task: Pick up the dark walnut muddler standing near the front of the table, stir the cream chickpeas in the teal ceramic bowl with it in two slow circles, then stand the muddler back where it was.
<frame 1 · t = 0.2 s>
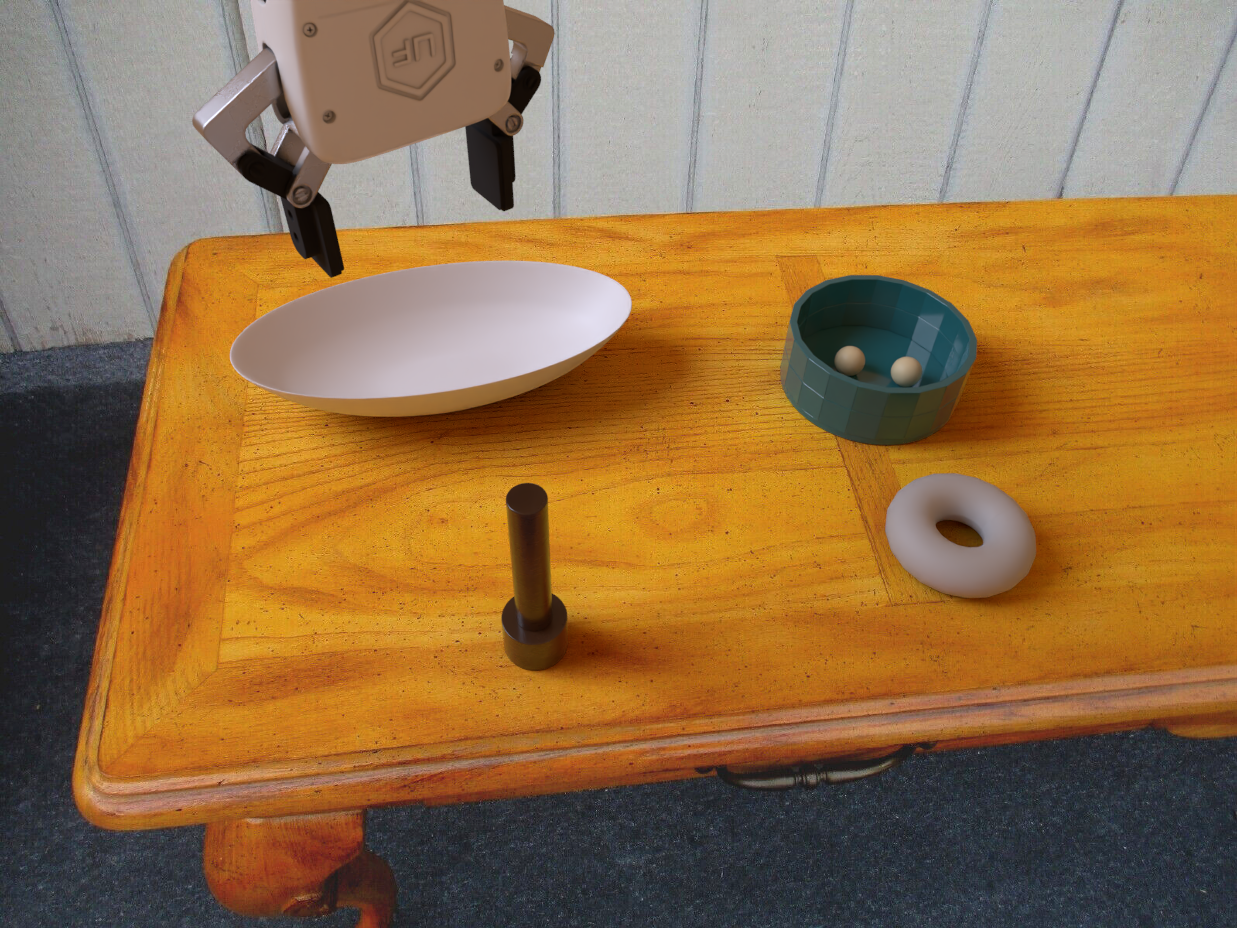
hand: (411, 229, 48), 24 cm above the table, tool pointing down, fingers open, 9 cm apart
muddler: (536, 642, 60), on the table
chickpea b: (849, 360, 77), point 2 cm above the table, touching mixing bowl
donut: (951, 550, 66), on the table
bowl: (447, 385, 76), on the table
chickpea a: (906, 371, 76), point 2 cm above the table, touching mixing bowl
mixing bowl: (867, 382, 78), on the table
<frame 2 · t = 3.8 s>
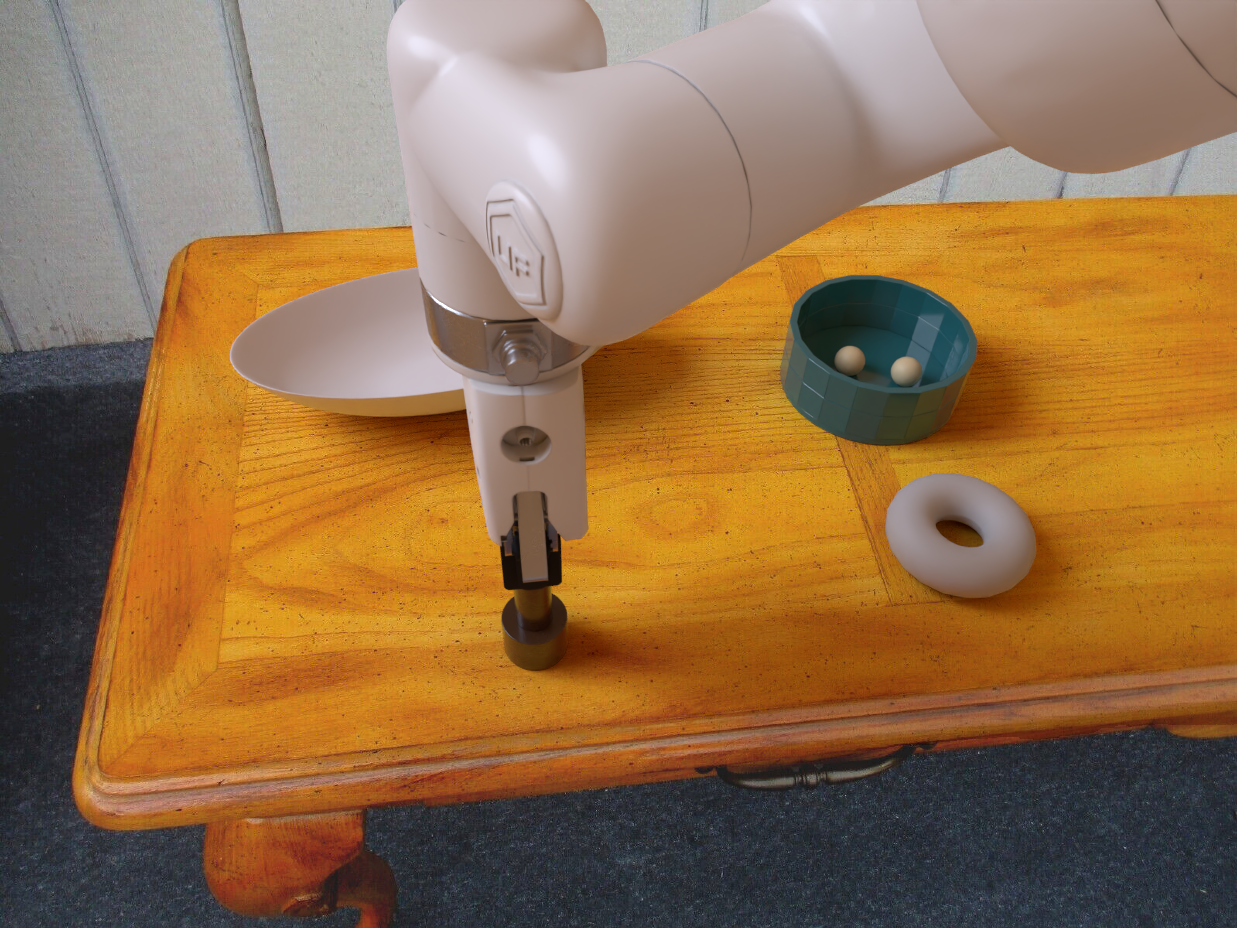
hand: (530, 560, 54), 9 cm above the table, tool pointing down, fingers closed on muddler, 2 cm apart
muddler: (536, 642, 60), on the table, touching gripper
everything else where it was.
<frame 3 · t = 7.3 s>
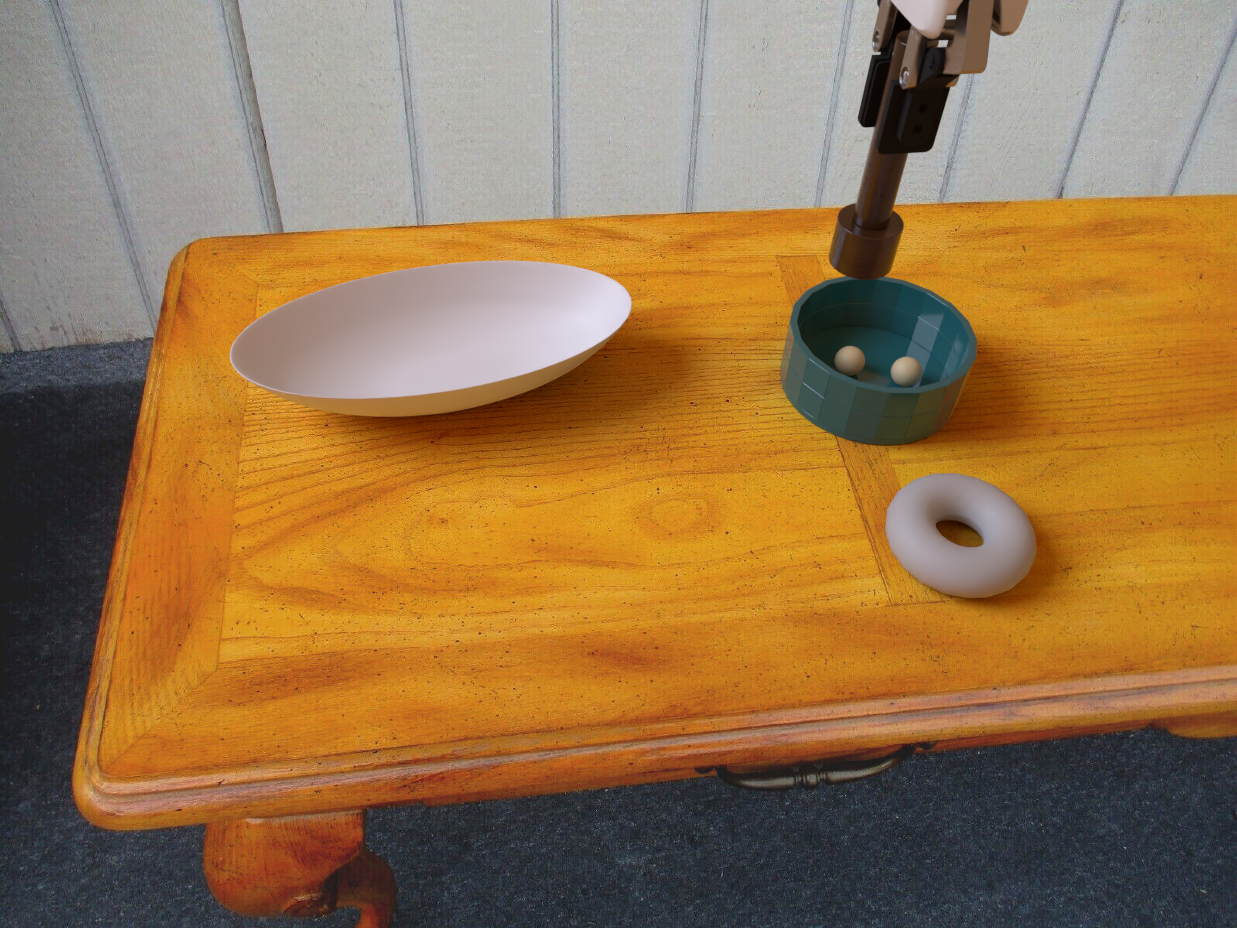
hand: (893, 134, 54), 25 cm above the table, tool pointing down, fingers closed on muddler
muddler: (860, 261, 60), point 17 cm above the table, touching gripper
everything else where it was.
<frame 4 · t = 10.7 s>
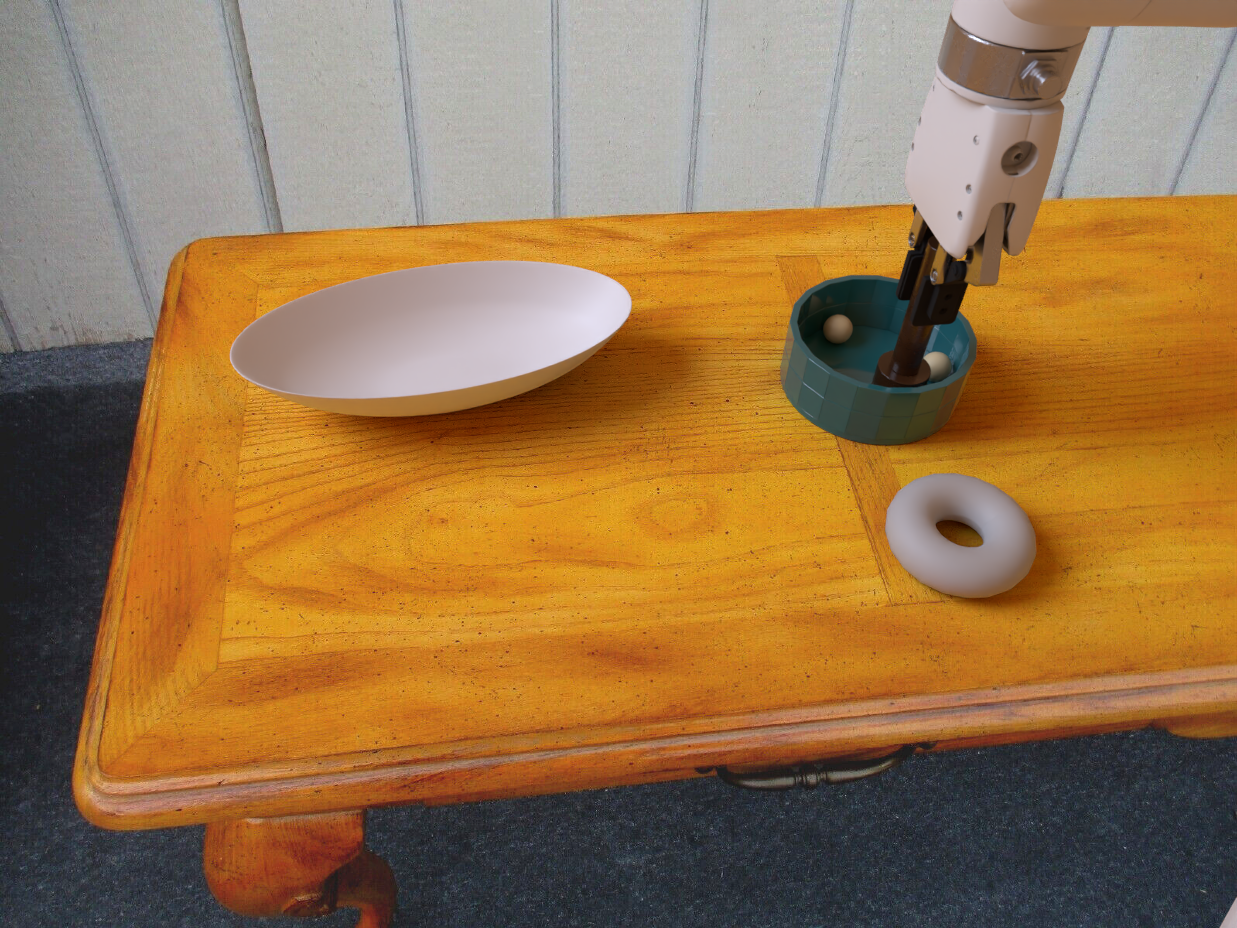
hand: (924, 308, 68), 10 cm above the table, tool pointing down, fingers closed on muddler, 2 cm apart
muddler: (895, 395, 75), point 1 cm above the table, touching gripper
chickpea b: (837, 329, 79), point 2 cm above the table, tilted 170°, touching mixing bowl
chickpea a: (935, 366, 76), point 2 cm above the table, tilted 122°, touching mixing bowl
everything else where it was.
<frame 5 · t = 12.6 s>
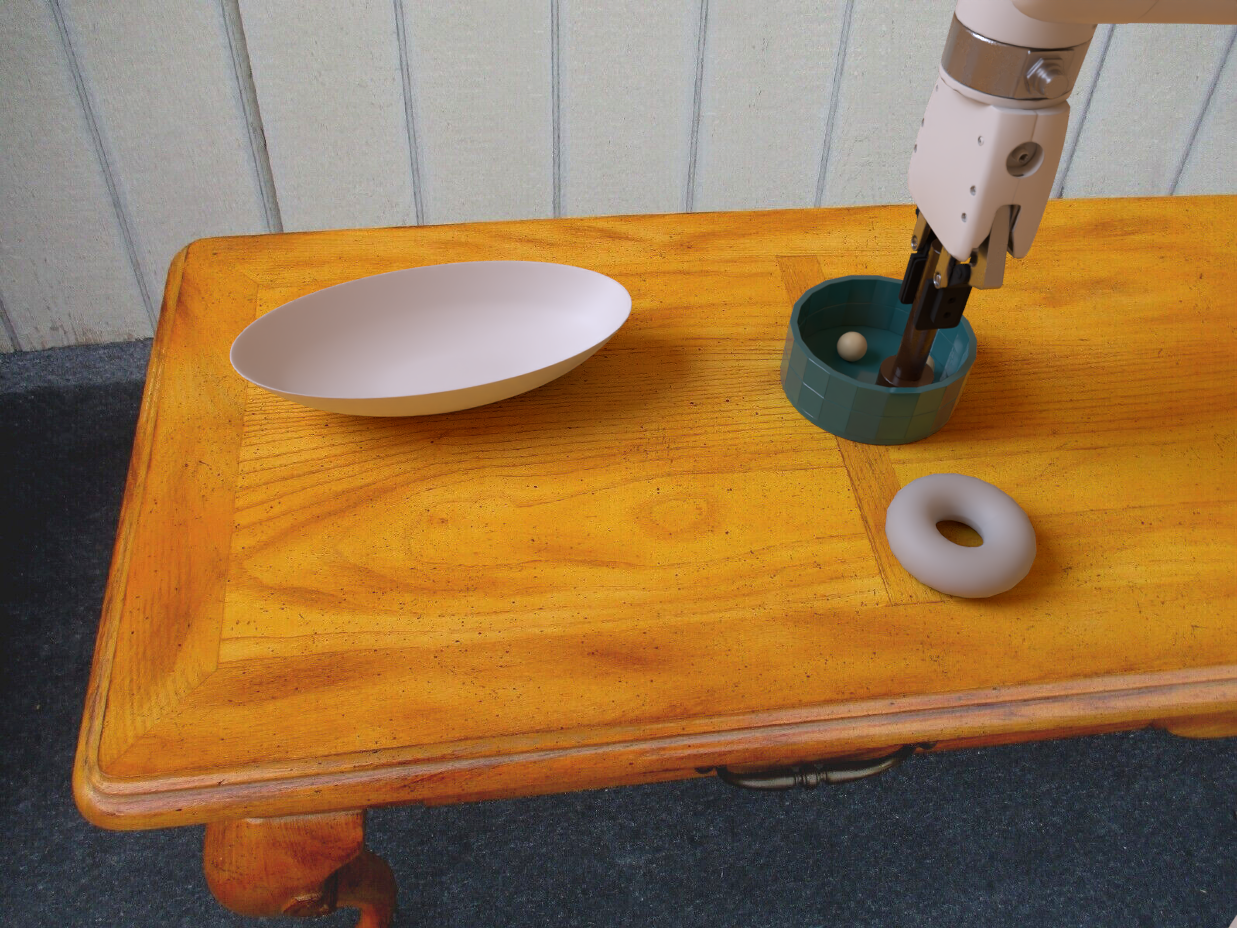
hand: (927, 312, 67), 10 cm above the table, tool pointing down, fingers closed on muddler, 2 cm apart
muddler: (897, 400, 74), point 2 cm above the table, touching gripper
chickpea b: (851, 346, 78), point 2 cm above the table, tilted 76°, touching mixing bowl
chickpea a: (918, 366, 76), point 2 cm above the table, tilted 57°, touching mixing bowl
everything else where it was.
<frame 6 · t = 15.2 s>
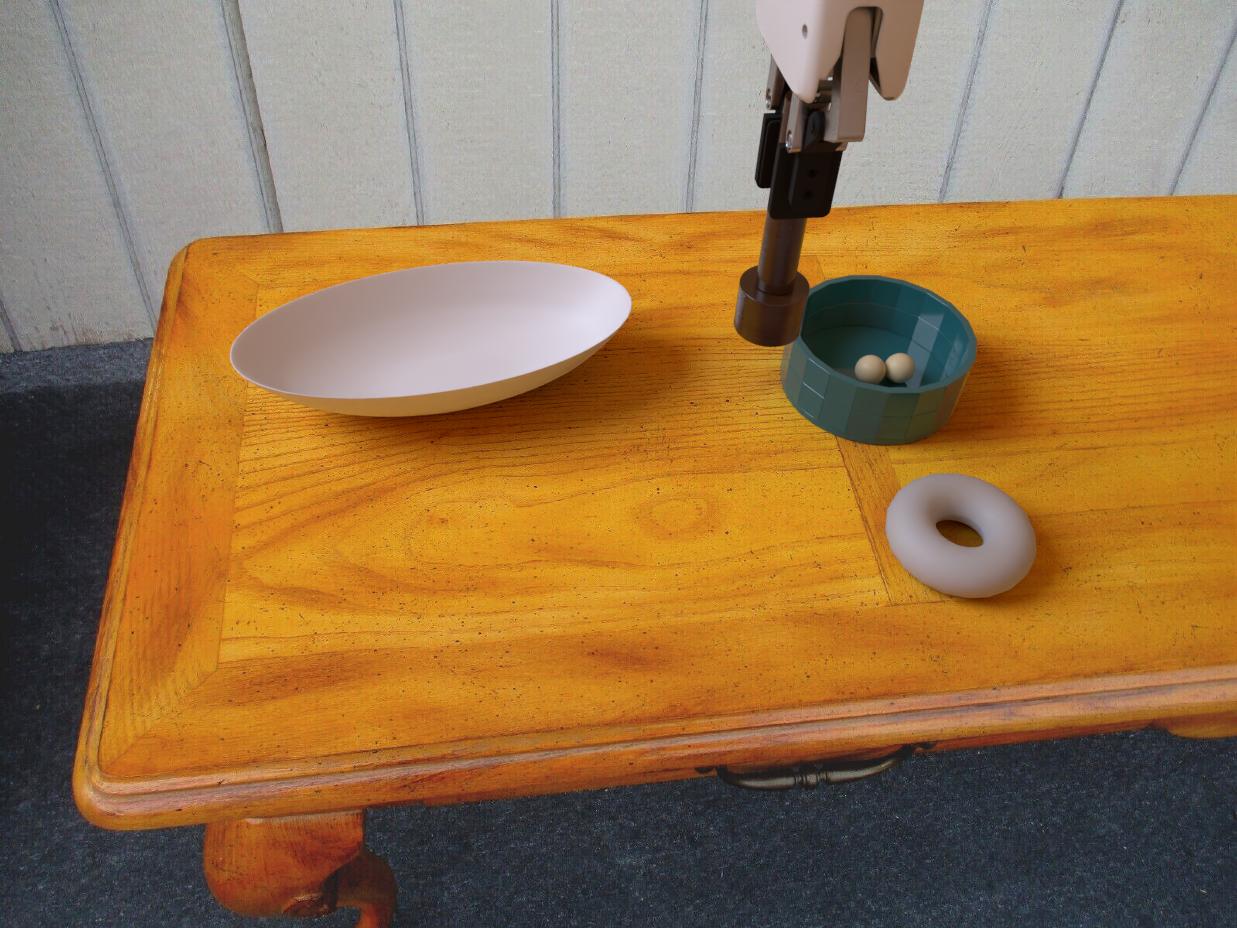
hand: (790, 197, 50), 25 cm above the table, tool pointing down, fingers closed on muddler
muddler: (767, 325, 56), point 16 cm above the table, touching gripper
chickpea b: (870, 370, 76), point 2 cm above the table, tilted 69°, touching mixing bowl
chickpea a: (899, 368, 76), point 2 cm above the table, tilted 21°, touching mixing bowl
everything else where it was.
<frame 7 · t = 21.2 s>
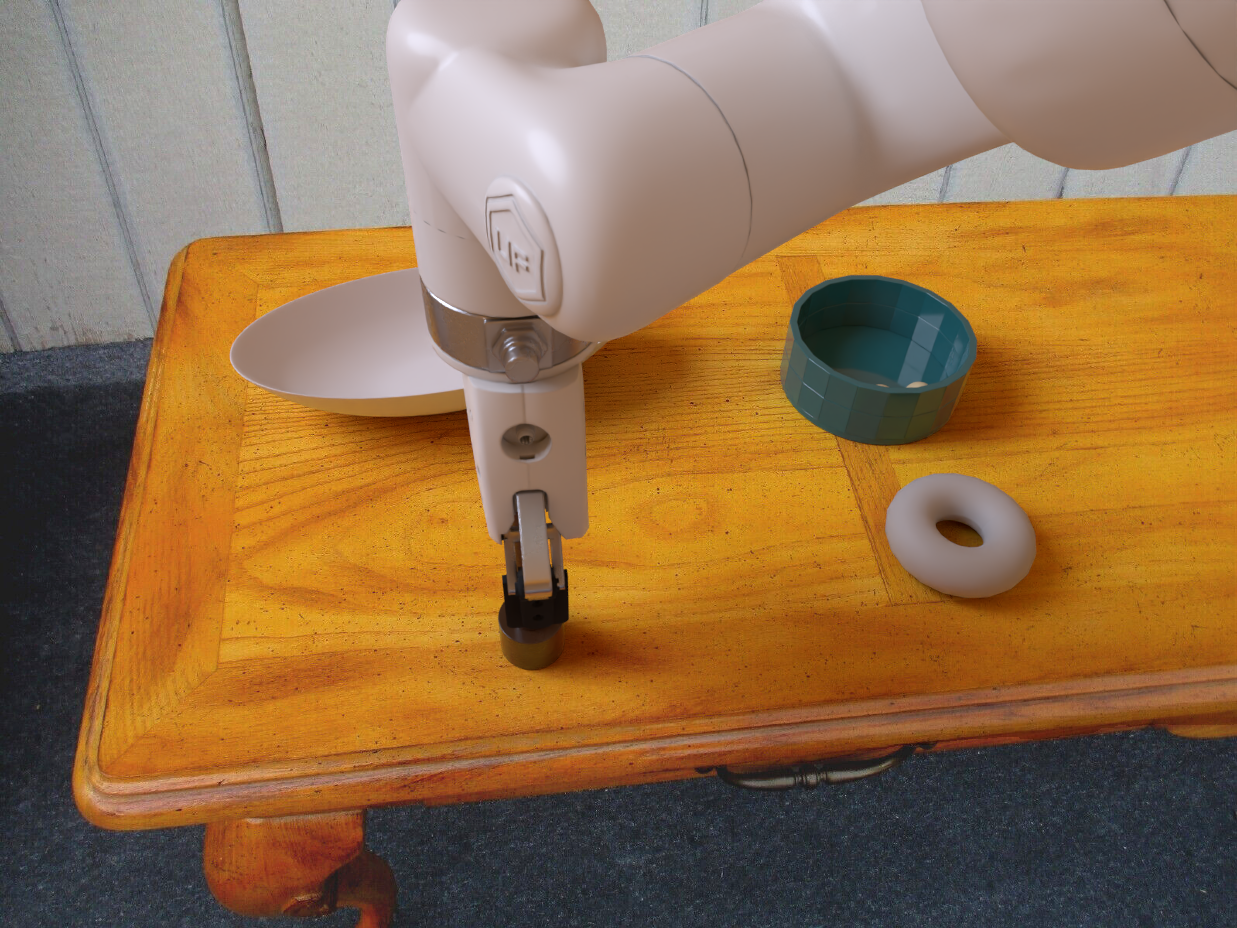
hand: (530, 547, 53), 10 cm above the table, tool pointing down, fingers open, 9 cm apart
muddler: (532, 642, 60), on the table
chickpea b: (879, 399, 74), point 2 cm above the table, tilted 126°, touching mixing bowl
chickpea a: (918, 397, 74), point 2 cm above the table, tilted 151°, touching mixing bowl
everything else where it was.
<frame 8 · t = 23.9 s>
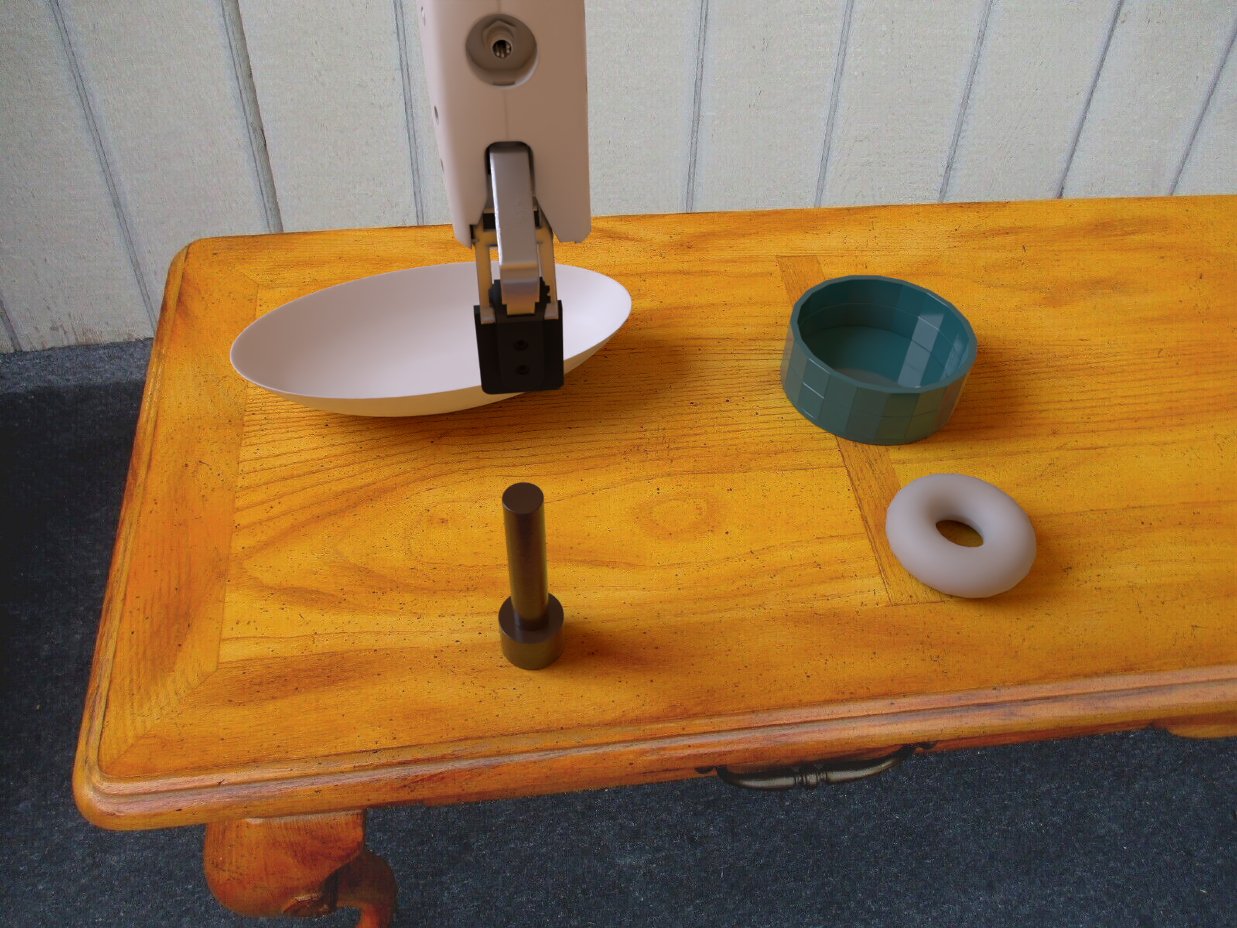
hand: (514, 310, 41), 26 cm above the table, tool pointing down, fingers open, 9 cm apart
chickpea b: (883, 411, 73), point 2 cm above the table, tilted 66°, touching mixing bowl
chickpea a: (919, 401, 74), point 2 cm above the table, tilted 166°, touching mixing bowl
everything else where it was.
at the end: chickpea a moved 3.4 cm from its start; chickpea a inside the target area in the mixing bowl (5.0 cm from its centre), point 1.8 cm above the mixing bowl's base; muddler inside the target area (0.2 cm from its centre), on the table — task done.
